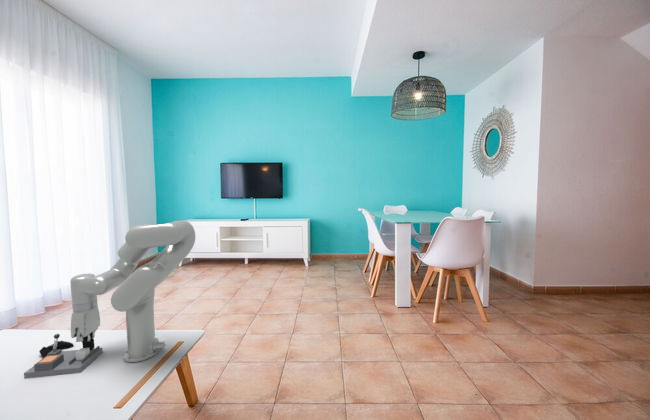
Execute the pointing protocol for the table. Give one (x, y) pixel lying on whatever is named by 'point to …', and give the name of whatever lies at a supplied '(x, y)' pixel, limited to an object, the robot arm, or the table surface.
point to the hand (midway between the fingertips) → (88, 349)
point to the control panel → (63, 363)
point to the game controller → (46, 350)
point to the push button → (49, 359)
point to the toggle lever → (55, 341)
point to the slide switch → (82, 353)
